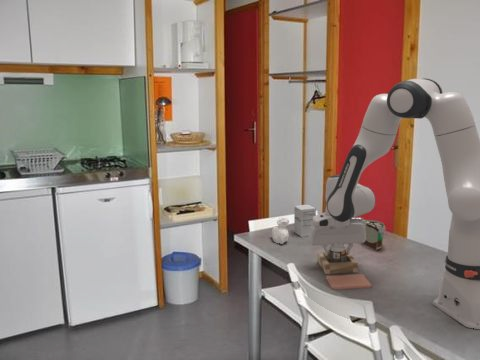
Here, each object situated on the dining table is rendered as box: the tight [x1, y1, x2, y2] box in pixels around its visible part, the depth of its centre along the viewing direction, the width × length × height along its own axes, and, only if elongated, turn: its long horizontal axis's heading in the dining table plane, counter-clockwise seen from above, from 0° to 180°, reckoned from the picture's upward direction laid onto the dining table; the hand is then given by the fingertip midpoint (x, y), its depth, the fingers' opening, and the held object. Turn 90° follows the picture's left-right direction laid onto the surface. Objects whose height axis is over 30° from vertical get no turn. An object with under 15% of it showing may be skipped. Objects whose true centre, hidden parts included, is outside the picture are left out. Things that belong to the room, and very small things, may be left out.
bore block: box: [317, 252, 359, 275], centre depth 172 cm, size 12×12×4 cm
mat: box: [325, 273, 373, 290], centre depth 158 cm, size 9×13×1 cm
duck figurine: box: [270, 217, 290, 245], centre depth 201 cm, size 12×8×11 cm
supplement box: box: [293, 204, 317, 238], centre depth 209 cm, size 7×7×13 cm
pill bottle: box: [328, 243, 346, 263], centre depth 171 cm, size 6×6×10 cm
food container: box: [361, 219, 386, 252], centre depth 191 cm, size 12×6×10 cm, turn 22°
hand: (337, 254), depth 171 cm, fingers closed on pill bottle, 6 cm apart
